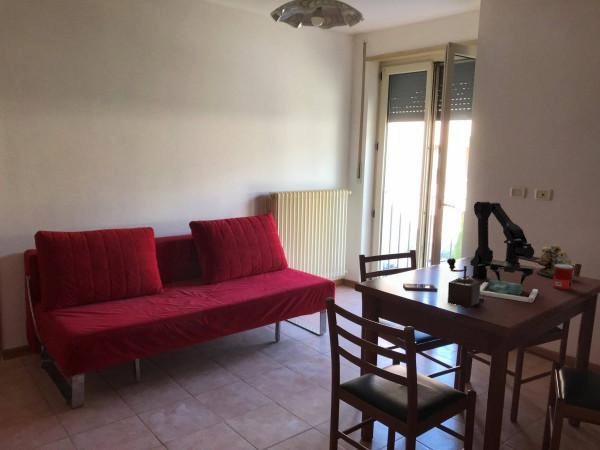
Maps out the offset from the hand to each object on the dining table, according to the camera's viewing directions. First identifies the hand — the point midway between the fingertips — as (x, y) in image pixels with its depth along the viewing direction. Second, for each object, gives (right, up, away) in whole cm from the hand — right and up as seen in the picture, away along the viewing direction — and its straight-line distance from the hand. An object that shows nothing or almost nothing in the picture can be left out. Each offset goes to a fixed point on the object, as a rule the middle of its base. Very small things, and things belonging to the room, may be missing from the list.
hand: (510, 285), depth 239 cm
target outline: (-4, -2, -7) cm, 8 cm away
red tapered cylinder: (+26, -1, +3) cm, 27 cm away
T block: (-6, -2, -6) cm, 9 cm away
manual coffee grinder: (-31, -5, -20) cm, 38 cm away
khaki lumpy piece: (+33, +2, +25) cm, 42 cm away
